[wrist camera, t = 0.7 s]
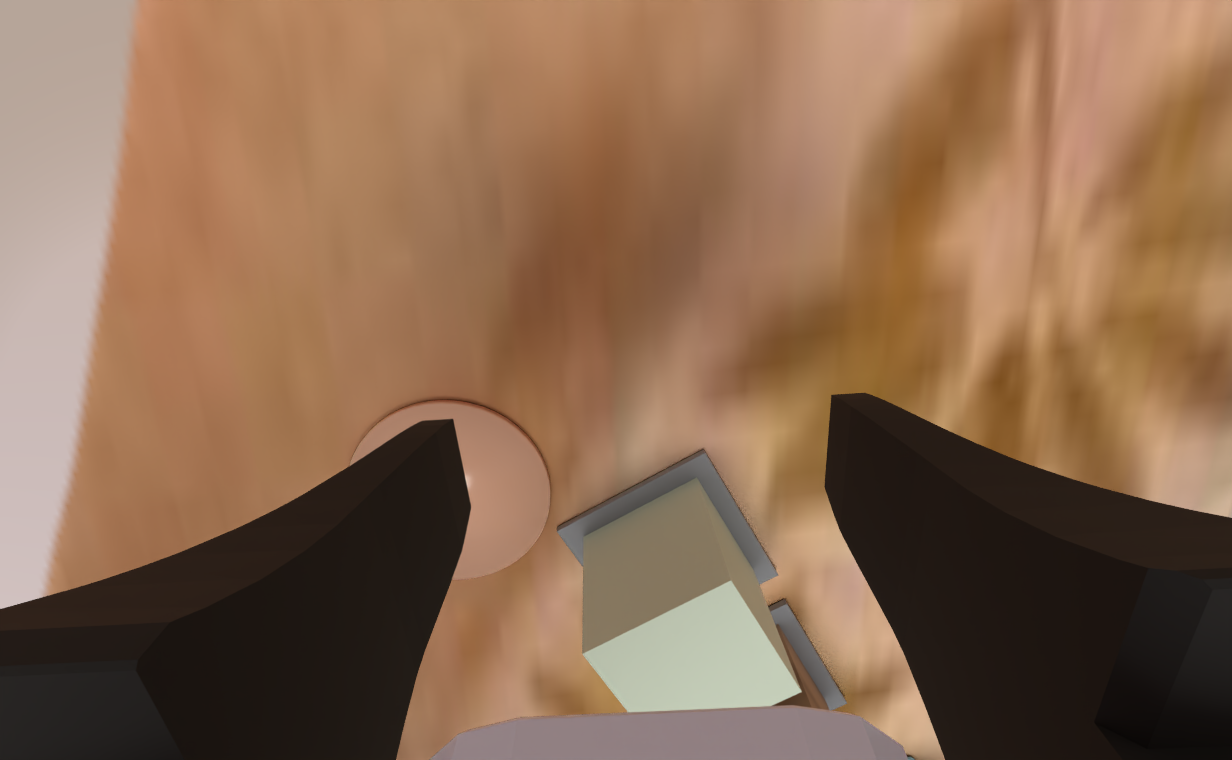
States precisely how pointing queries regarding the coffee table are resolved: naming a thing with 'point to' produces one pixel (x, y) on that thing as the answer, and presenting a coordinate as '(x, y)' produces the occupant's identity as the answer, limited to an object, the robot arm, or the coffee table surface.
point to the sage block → (679, 611)
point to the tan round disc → (484, 480)
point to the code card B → (807, 653)
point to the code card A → (661, 485)
